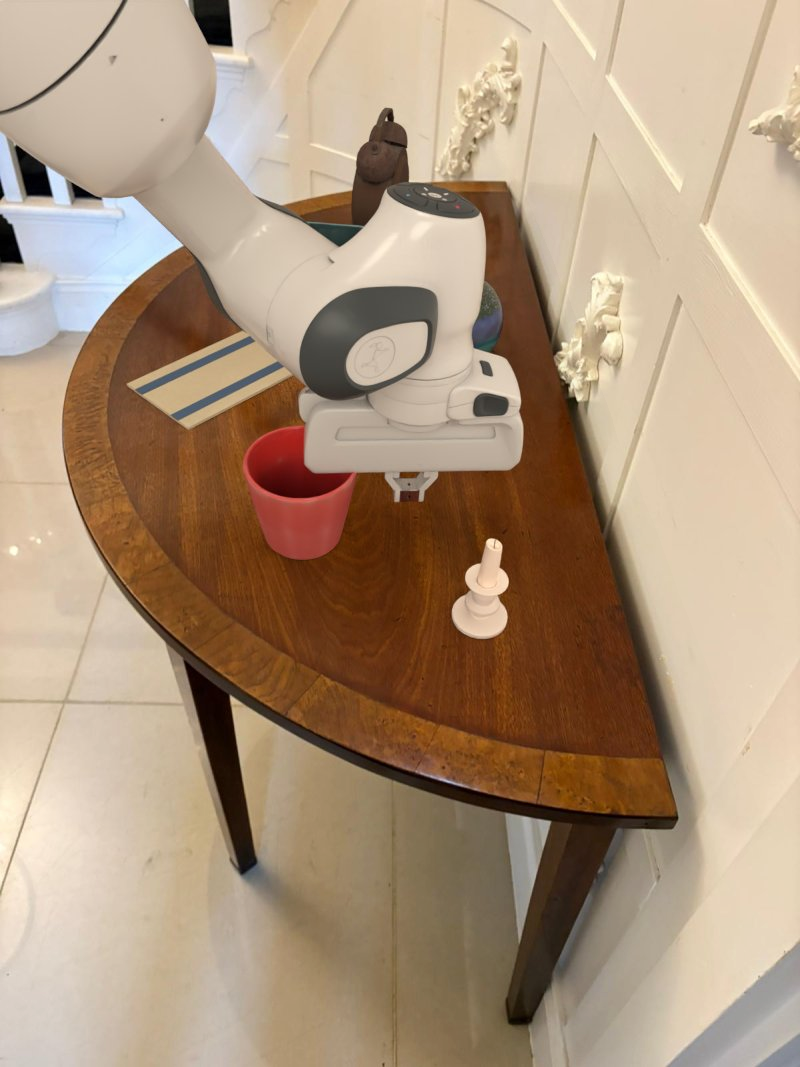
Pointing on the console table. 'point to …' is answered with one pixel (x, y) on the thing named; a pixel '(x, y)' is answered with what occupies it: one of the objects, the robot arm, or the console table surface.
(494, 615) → the candle
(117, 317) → the console table surface
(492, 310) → the vase
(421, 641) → the console table surface
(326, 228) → the flower pot
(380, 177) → the brown flask
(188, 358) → the cloth
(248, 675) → the console table surface
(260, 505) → the flower pot
